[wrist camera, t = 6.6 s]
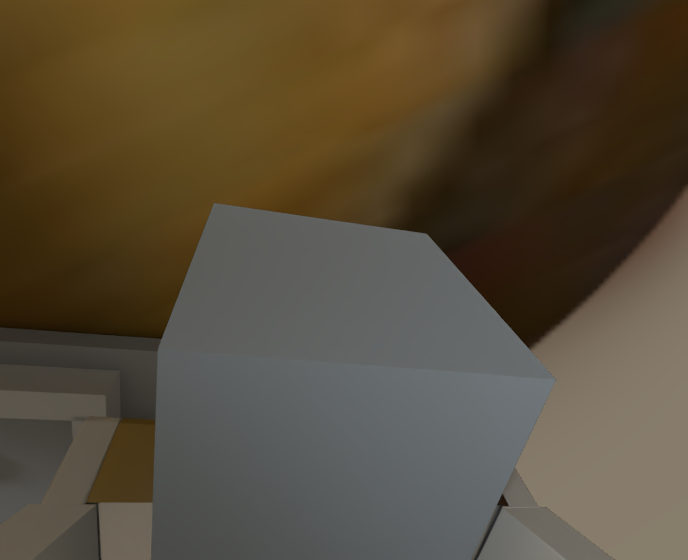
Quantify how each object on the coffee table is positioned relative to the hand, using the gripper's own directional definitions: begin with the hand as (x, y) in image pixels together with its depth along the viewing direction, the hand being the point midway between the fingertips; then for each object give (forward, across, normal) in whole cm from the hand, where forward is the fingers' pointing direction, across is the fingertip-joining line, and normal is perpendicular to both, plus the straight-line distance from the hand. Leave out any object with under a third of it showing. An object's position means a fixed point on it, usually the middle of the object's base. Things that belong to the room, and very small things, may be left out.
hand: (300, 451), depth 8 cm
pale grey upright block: (+2, 0, 0) cm, 2 cm away
